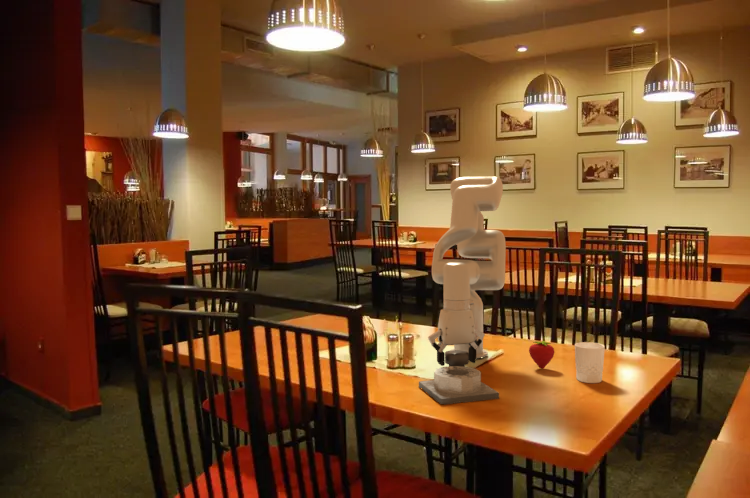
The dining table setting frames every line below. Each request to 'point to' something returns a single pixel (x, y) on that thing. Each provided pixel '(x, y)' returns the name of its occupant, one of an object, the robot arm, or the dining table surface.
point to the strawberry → (541, 353)
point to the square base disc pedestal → (458, 386)
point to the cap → (456, 358)
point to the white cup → (589, 361)
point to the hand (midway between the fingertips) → (456, 363)
